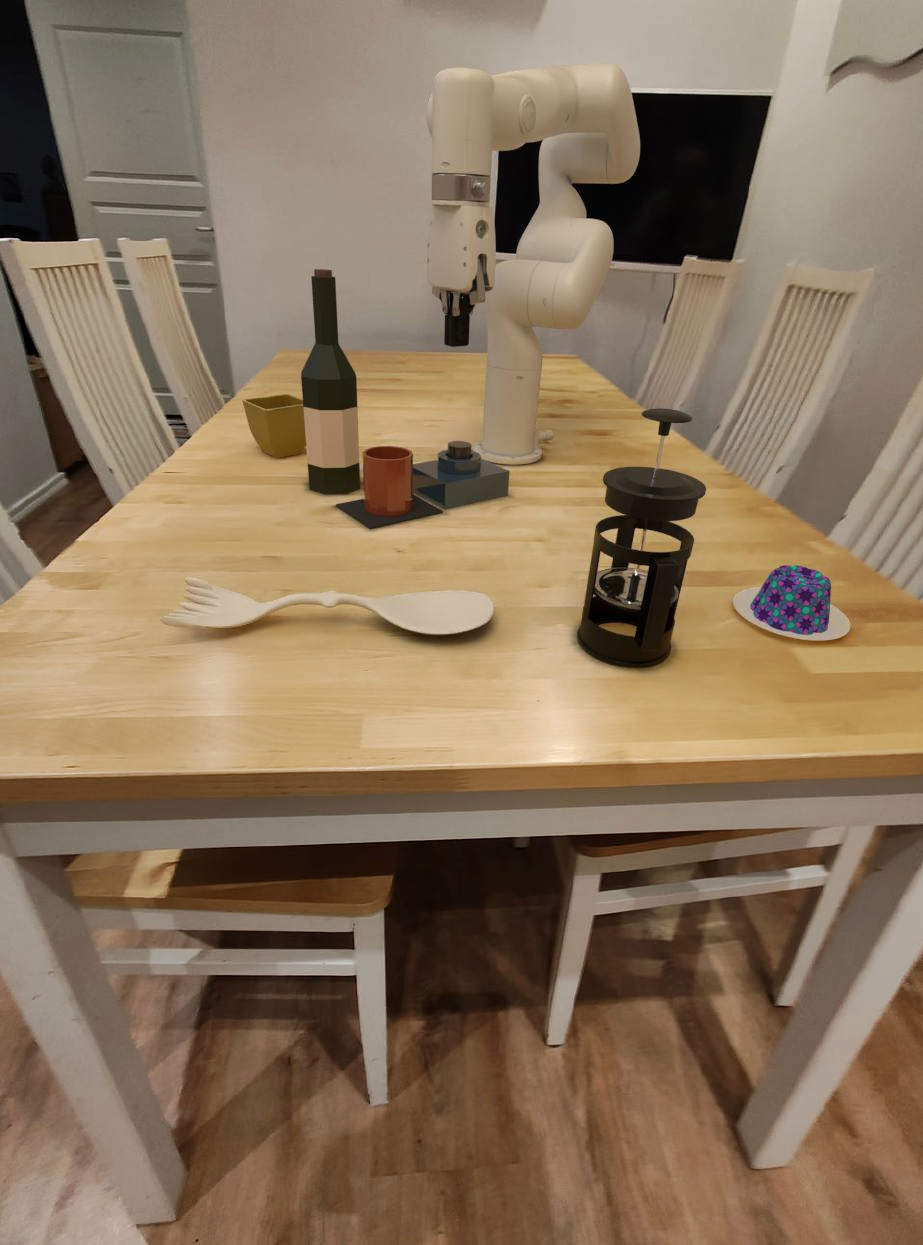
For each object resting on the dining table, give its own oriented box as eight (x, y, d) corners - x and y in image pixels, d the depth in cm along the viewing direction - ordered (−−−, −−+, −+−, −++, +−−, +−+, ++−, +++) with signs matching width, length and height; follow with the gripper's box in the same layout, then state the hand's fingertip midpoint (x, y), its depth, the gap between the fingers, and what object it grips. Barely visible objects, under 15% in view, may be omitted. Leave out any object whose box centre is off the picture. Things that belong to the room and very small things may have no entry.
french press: (564, 617, 73) (595, 396, 61) (648, 615, 74) (694, 398, 62) (596, 680, 63) (640, 430, 51) (692, 677, 64) (757, 431, 52)
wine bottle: (351, 497, 101) (341, 273, 86) (298, 492, 103) (280, 269, 87) (368, 480, 108) (362, 270, 93) (319, 475, 110) (305, 266, 95)
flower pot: (271, 463, 114) (265, 409, 109) (247, 451, 119) (241, 398, 115) (316, 455, 119) (313, 403, 114) (292, 443, 124) (287, 393, 120)
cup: (396, 496, 101) (395, 443, 97) (421, 510, 97) (422, 455, 93) (356, 504, 98) (354, 449, 94) (380, 519, 93) (378, 462, 89)
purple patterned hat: (864, 653, 69) (882, 608, 66) (741, 638, 70) (754, 593, 68) (829, 599, 79) (844, 558, 76) (723, 587, 81) (734, 546, 78)
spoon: (190, 601, 72) (185, 572, 70) (488, 604, 74) (490, 575, 73) (163, 647, 64) (156, 615, 62) (497, 647, 67) (500, 617, 65)
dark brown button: (461, 452, 105) (462, 439, 104) (475, 459, 102) (476, 445, 101) (442, 456, 103) (443, 442, 102) (456, 462, 100) (457, 448, 99)
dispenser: (469, 478, 112) (471, 441, 109) (507, 496, 105) (510, 458, 102) (407, 490, 105) (407, 451, 102) (444, 510, 99) (446, 469, 96)
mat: (405, 492, 104) (405, 490, 104) (443, 513, 97) (443, 510, 97) (335, 506, 98) (335, 504, 98) (370, 529, 91) (370, 527, 91)
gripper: (521, 194, 84) (510, 352, 93) (449, 194, 94) (446, 336, 103) (473, 191, 80) (467, 356, 89) (404, 191, 90) (405, 339, 99)
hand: (456, 345), depth 96 cm, fingers closed
